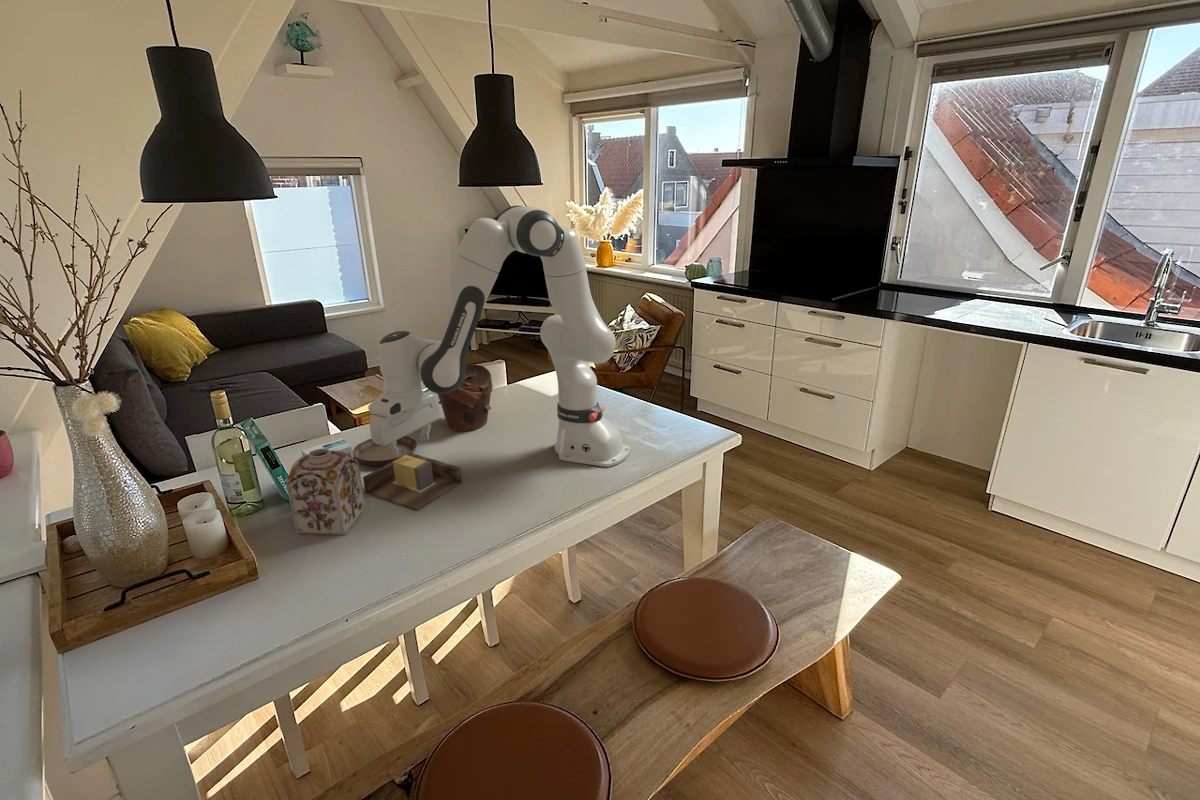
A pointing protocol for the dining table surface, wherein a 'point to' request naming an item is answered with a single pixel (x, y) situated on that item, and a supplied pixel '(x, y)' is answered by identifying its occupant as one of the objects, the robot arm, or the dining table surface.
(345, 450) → the light bulb box
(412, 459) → the ochre block
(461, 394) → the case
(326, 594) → the dining table surface
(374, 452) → the plant saucer
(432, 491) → the corner arena
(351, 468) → the decorative jar
